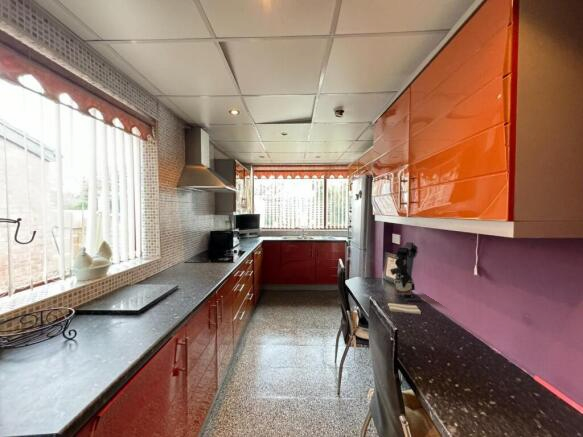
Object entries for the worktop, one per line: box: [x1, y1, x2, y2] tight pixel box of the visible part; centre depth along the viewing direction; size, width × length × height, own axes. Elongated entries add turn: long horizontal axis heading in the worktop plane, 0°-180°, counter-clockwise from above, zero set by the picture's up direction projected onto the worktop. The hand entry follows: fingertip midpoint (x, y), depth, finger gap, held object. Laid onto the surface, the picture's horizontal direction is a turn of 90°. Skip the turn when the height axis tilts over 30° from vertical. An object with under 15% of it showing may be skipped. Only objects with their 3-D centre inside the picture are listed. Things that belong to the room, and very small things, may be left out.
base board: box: [387, 302, 422, 315], centre depth 174 cm, size 12×18×1 cm, turn 79°
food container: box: [393, 277, 414, 295], centre depth 187 cm, size 12×6×10 cm, turn 79°
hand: (402, 286), depth 187 cm, fingers closed on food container, 6 cm apart
